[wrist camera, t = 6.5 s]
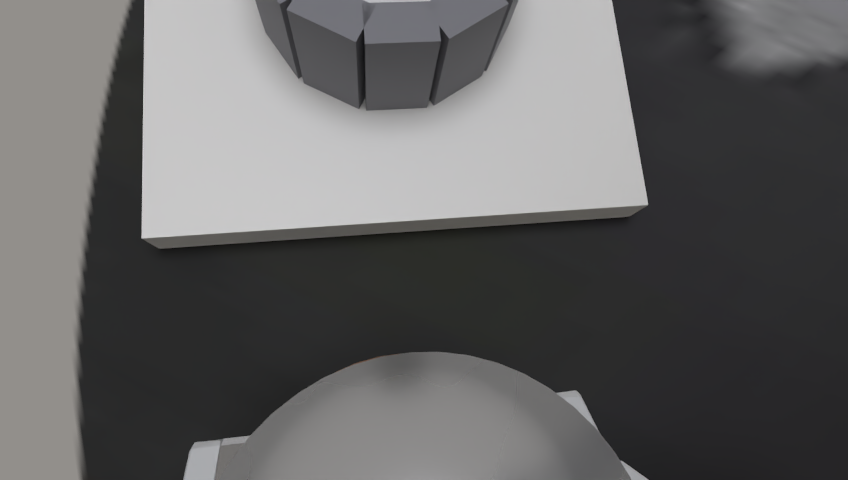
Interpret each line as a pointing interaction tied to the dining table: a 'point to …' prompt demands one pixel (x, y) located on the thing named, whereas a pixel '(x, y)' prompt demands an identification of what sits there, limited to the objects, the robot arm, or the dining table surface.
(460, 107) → the collar plate
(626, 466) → the robot arm
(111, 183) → the dining table surface
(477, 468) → the silver peg
